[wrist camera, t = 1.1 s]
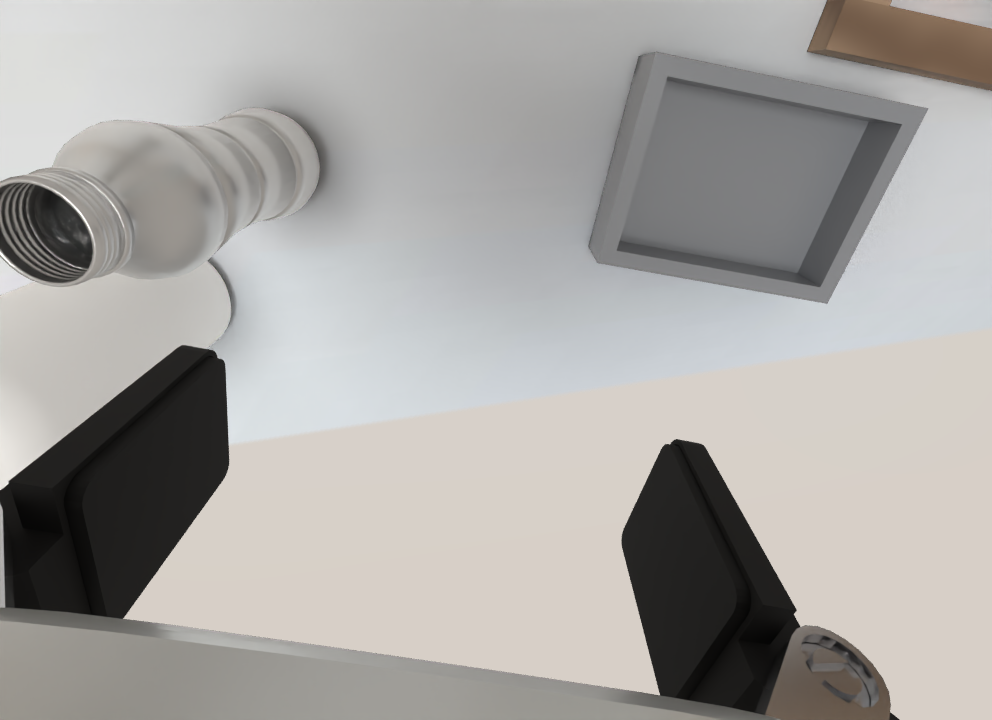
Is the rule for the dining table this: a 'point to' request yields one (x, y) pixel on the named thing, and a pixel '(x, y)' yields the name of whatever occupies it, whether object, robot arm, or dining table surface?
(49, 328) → the alcohol
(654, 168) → the tray
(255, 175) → the plastic bottle
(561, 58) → the dining table surface
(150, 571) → the robot arm
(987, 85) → the brown square frame
